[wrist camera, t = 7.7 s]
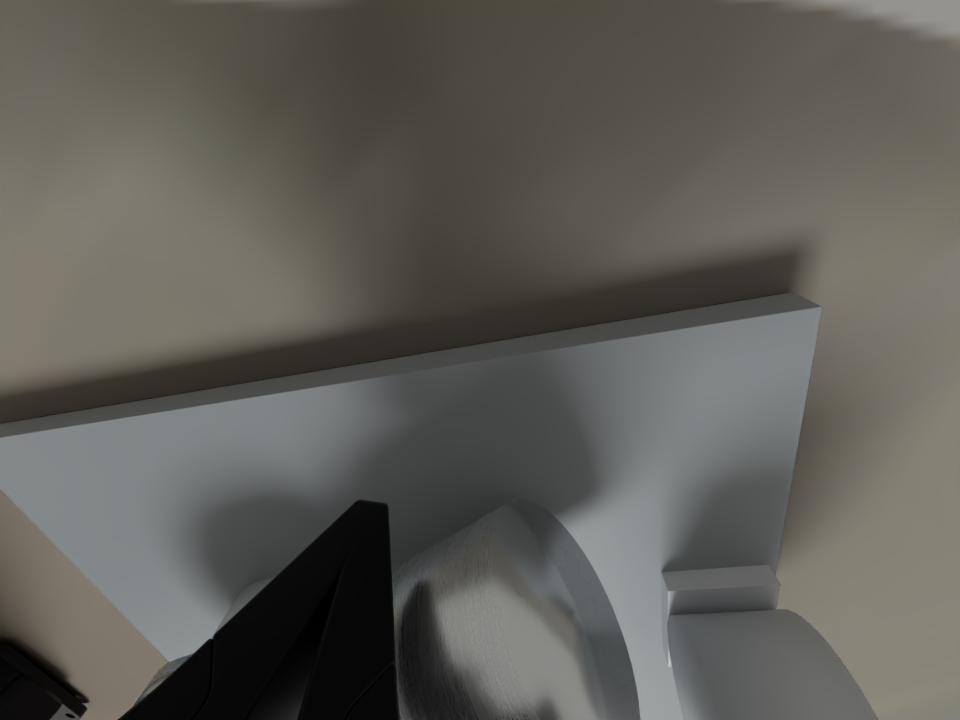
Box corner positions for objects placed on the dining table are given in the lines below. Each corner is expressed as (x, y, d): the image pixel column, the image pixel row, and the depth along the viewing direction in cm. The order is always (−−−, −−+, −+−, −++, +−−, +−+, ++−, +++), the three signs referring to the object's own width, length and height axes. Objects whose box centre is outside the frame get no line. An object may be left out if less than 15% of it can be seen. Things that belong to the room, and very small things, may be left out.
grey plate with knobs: (253, 709, 20) (148, 931, 14) (-4, 424, 12) (-453, 651, 7) (735, 698, 17) (857, 987, 11) (790, 292, 9) (1311, 528, 3)
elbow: (329, 720, 17) (263, 922, 12) (161, 629, 14) (4, 837, 10) (636, 594, 12) (714, 859, 7) (454, 421, 9) (404, 656, 5)
